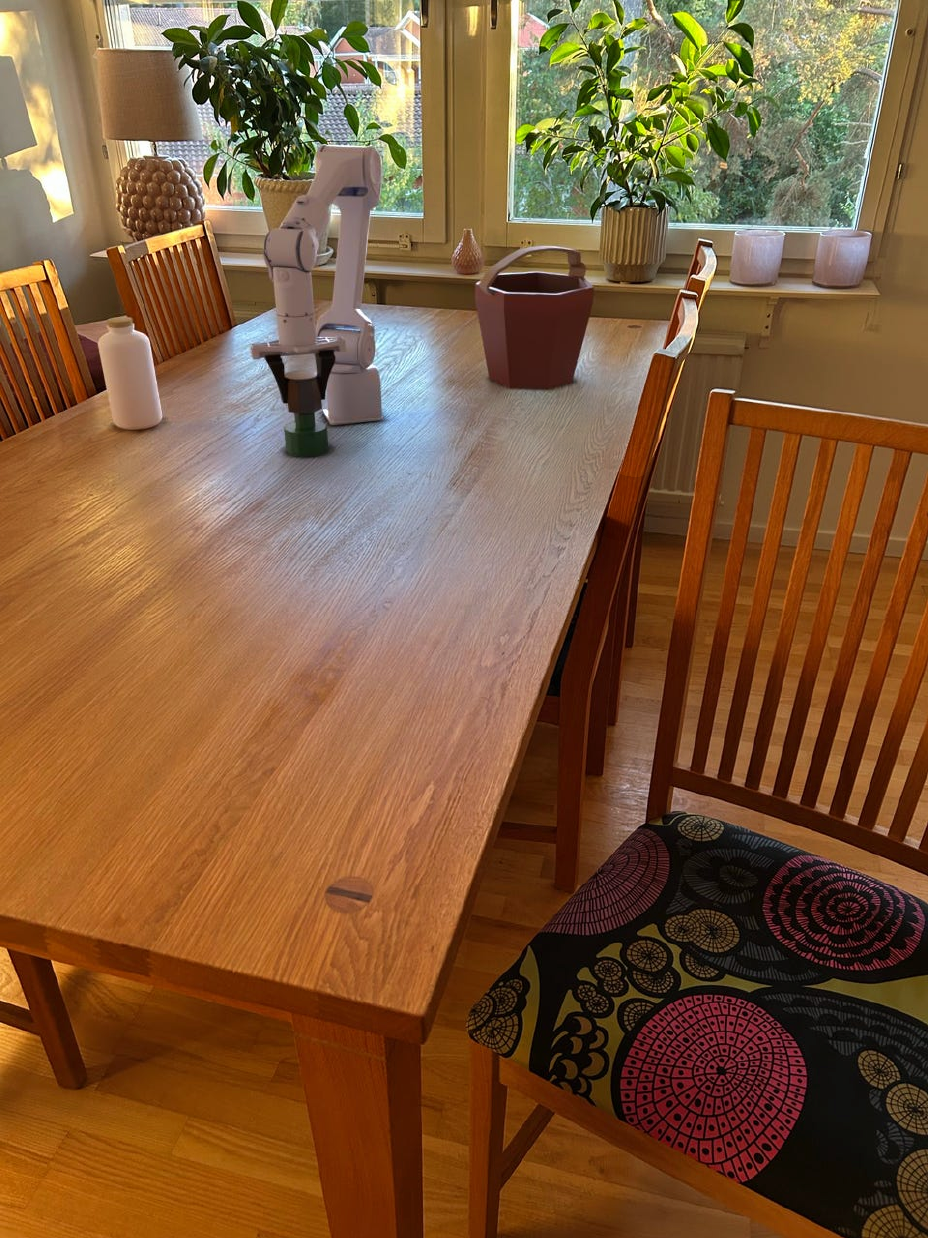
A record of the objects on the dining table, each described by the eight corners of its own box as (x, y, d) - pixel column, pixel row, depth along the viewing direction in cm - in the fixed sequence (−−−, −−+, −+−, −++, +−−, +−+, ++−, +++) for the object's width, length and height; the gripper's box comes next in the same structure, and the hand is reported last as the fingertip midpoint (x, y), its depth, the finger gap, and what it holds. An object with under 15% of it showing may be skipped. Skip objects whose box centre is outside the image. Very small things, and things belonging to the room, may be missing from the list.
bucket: (566, 358, 200) (574, 235, 187) (612, 388, 182) (623, 253, 169) (459, 368, 194) (459, 241, 181) (495, 400, 176) (498, 261, 163)
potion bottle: (172, 418, 166) (155, 315, 156) (144, 434, 159) (124, 327, 150) (133, 414, 168) (114, 312, 159) (104, 428, 161) (82, 323, 152)
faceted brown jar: (317, 401, 152) (314, 368, 149) (324, 411, 148) (321, 377, 145) (284, 404, 151) (281, 371, 148) (290, 415, 146) (287, 380, 143)
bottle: (323, 440, 157) (320, 403, 153) (332, 454, 151) (329, 415, 148) (283, 445, 155) (279, 407, 151) (290, 459, 149) (286, 420, 146)
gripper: (251, 322, 136) (261, 411, 143) (347, 315, 140) (352, 402, 147) (245, 311, 142) (255, 398, 149) (338, 305, 146) (343, 390, 153)
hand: (303, 399), depth 148 cm, fingers closed on faceted brown jar, 5 cm apart
